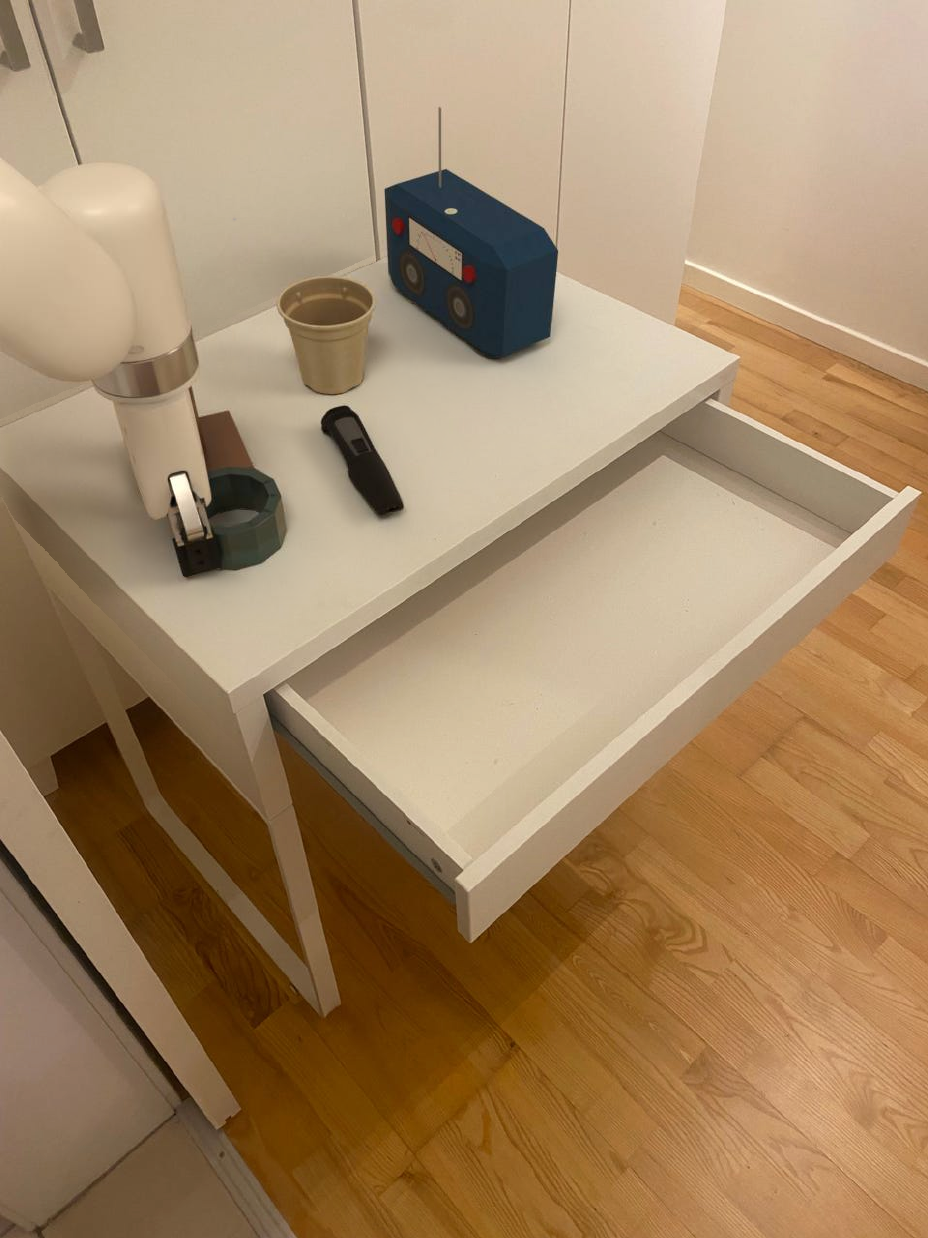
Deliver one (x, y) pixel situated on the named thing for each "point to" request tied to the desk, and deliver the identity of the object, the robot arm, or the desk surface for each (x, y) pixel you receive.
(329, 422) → the electric trimmer
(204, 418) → the stand
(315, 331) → the flower pot
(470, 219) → the radio
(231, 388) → the desk surface
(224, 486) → the ring
